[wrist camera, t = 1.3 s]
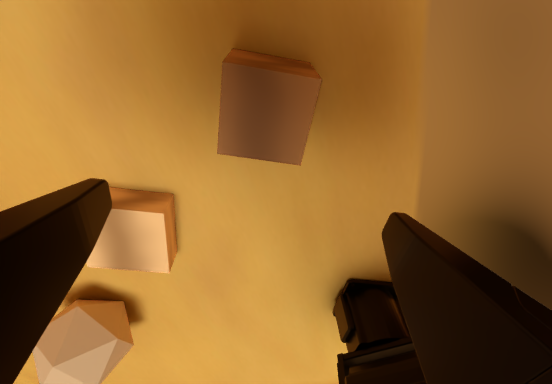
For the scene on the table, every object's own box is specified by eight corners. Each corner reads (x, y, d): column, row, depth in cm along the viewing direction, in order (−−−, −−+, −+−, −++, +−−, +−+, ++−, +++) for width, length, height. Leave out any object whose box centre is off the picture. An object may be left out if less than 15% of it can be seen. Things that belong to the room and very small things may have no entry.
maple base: (174, 191, 24) (163, 213, 21) (178, 249, 28) (169, 273, 25) (88, 182, 23) (66, 204, 21) (104, 242, 27) (87, 267, 24)
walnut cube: (309, 62, 18) (321, 79, 14) (294, 133, 21) (300, 165, 17) (233, 48, 18) (222, 61, 13) (227, 123, 20) (217, 153, 16)
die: (74, 321, 35) (91, 403, 30) (3, 319, 27) (11, 429, 23) (133, 284, 35) (157, 359, 31) (80, 272, 28) (102, 370, 23)
